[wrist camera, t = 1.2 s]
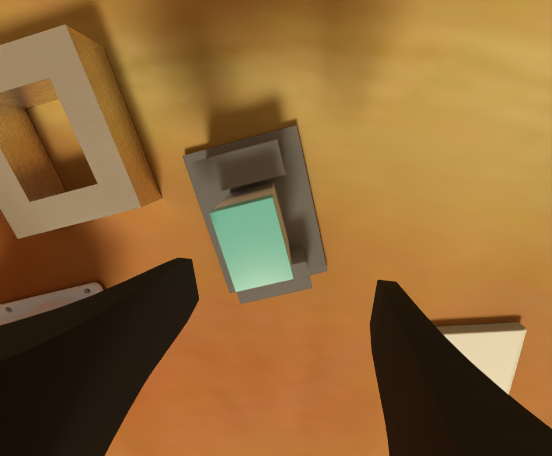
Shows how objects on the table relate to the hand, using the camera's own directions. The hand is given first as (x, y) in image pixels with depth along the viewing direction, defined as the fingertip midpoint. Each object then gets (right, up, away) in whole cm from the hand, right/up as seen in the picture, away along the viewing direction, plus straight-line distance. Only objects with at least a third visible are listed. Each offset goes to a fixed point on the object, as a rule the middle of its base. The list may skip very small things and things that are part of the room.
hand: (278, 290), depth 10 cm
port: (-14, +8, +8) cm, 18 cm away
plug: (-1, +3, +9) cm, 10 cm away
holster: (-1, +3, +9) cm, 10 cm away
